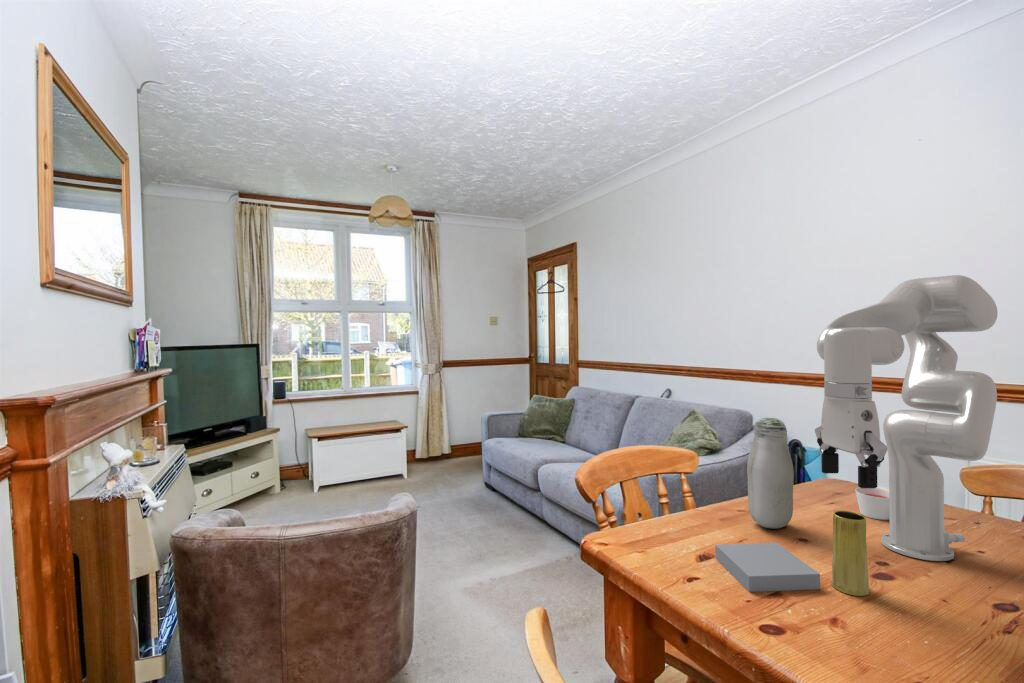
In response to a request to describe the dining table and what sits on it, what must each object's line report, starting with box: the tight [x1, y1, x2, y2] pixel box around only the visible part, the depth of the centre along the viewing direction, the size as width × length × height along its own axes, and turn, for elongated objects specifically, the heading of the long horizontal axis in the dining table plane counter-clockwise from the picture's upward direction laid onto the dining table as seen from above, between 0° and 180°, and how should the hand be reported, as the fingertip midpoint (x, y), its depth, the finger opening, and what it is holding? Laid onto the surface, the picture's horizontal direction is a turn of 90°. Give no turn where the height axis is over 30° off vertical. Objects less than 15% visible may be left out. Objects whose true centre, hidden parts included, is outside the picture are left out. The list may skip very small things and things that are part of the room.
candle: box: [854, 486, 890, 521], centre depth 128 cm, size 9×9×6 cm
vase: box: [830, 510, 871, 597], centre depth 92 cm, size 6×6×14 cm
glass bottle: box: [746, 417, 795, 529], centre depth 122 cm, size 10×10×28 cm
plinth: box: [714, 542, 821, 593], centre depth 98 cm, size 14×14×3 cm
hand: (847, 480), depth 92 cm, fingers open, 9 cm apart
